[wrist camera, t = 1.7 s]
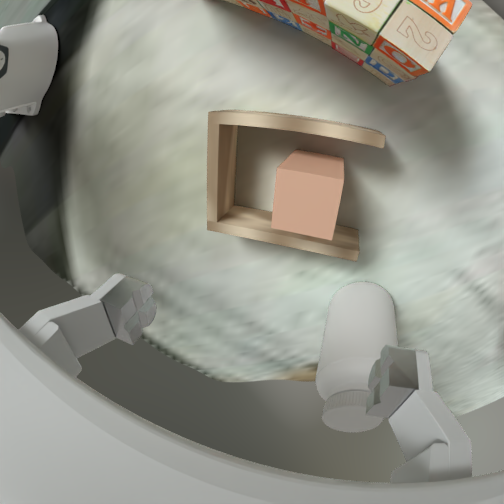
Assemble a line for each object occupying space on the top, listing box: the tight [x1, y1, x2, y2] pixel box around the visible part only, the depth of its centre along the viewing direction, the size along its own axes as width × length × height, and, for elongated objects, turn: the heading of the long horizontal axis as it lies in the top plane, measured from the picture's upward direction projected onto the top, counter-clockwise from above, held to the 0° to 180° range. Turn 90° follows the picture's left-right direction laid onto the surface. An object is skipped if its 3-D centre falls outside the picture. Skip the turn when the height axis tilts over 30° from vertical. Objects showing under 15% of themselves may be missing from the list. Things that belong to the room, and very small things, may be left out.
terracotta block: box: [271, 150, 344, 240], centre depth 22 cm, size 4×4×8 cm
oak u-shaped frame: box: [207, 110, 386, 262], centre depth 24 cm, size 14×11×4 cm
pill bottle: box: [316, 282, 398, 432], centre depth 25 cm, size 8×8×15 cm
